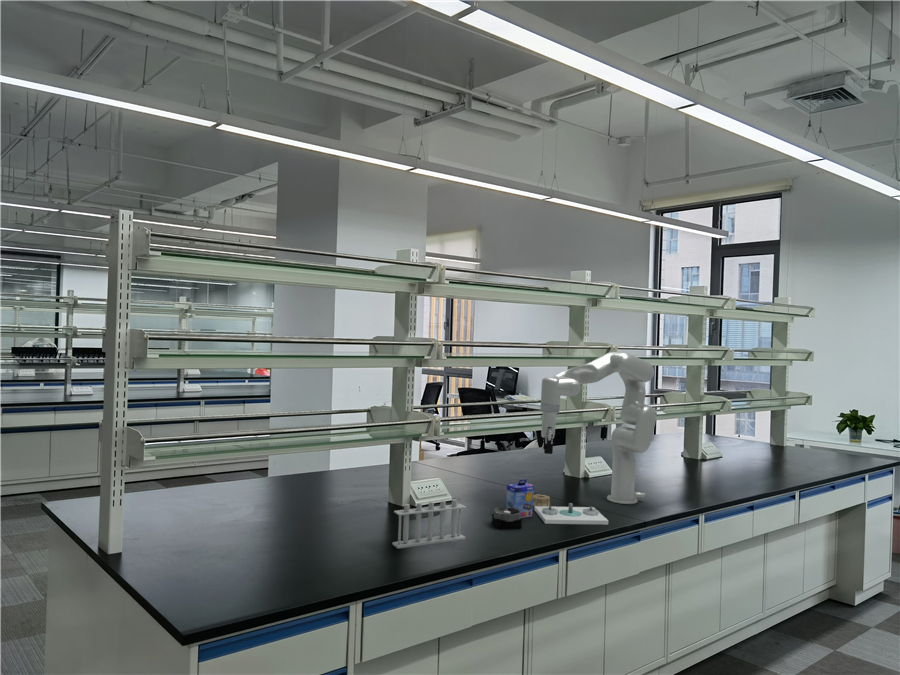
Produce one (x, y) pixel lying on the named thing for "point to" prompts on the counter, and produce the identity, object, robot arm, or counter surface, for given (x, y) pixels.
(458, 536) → the test tube rack
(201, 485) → the counter surface
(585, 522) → the gear board
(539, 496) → the maple gear
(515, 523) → the cpu cooler
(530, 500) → the ink cartridge box
